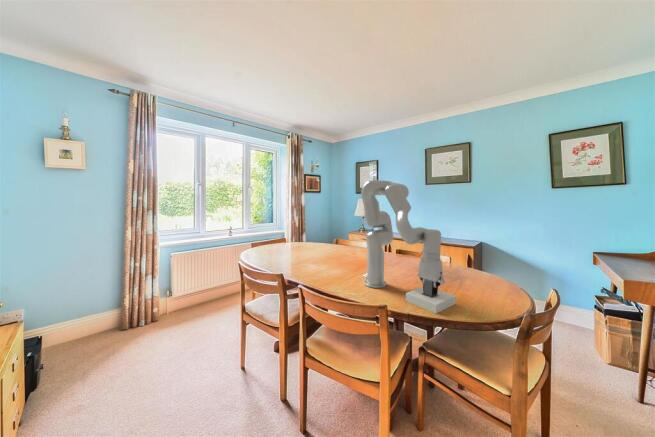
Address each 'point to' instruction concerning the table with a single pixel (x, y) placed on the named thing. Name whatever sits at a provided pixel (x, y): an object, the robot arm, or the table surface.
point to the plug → (428, 288)
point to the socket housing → (430, 300)
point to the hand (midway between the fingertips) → (430, 292)
